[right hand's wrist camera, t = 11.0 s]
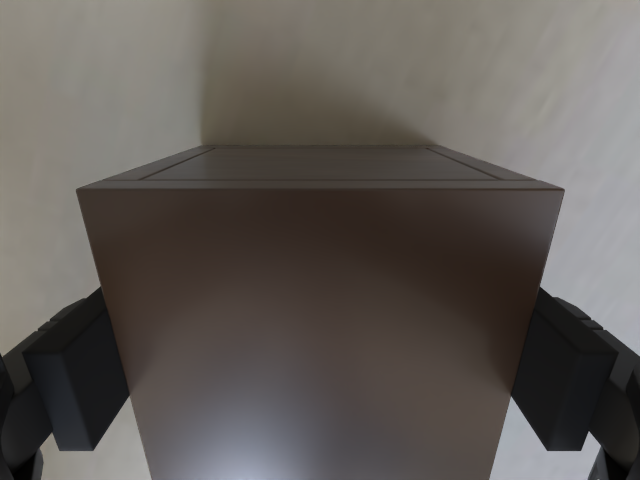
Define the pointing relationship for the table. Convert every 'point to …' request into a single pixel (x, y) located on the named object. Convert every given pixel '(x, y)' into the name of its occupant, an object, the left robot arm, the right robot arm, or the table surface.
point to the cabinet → (320, 307)
